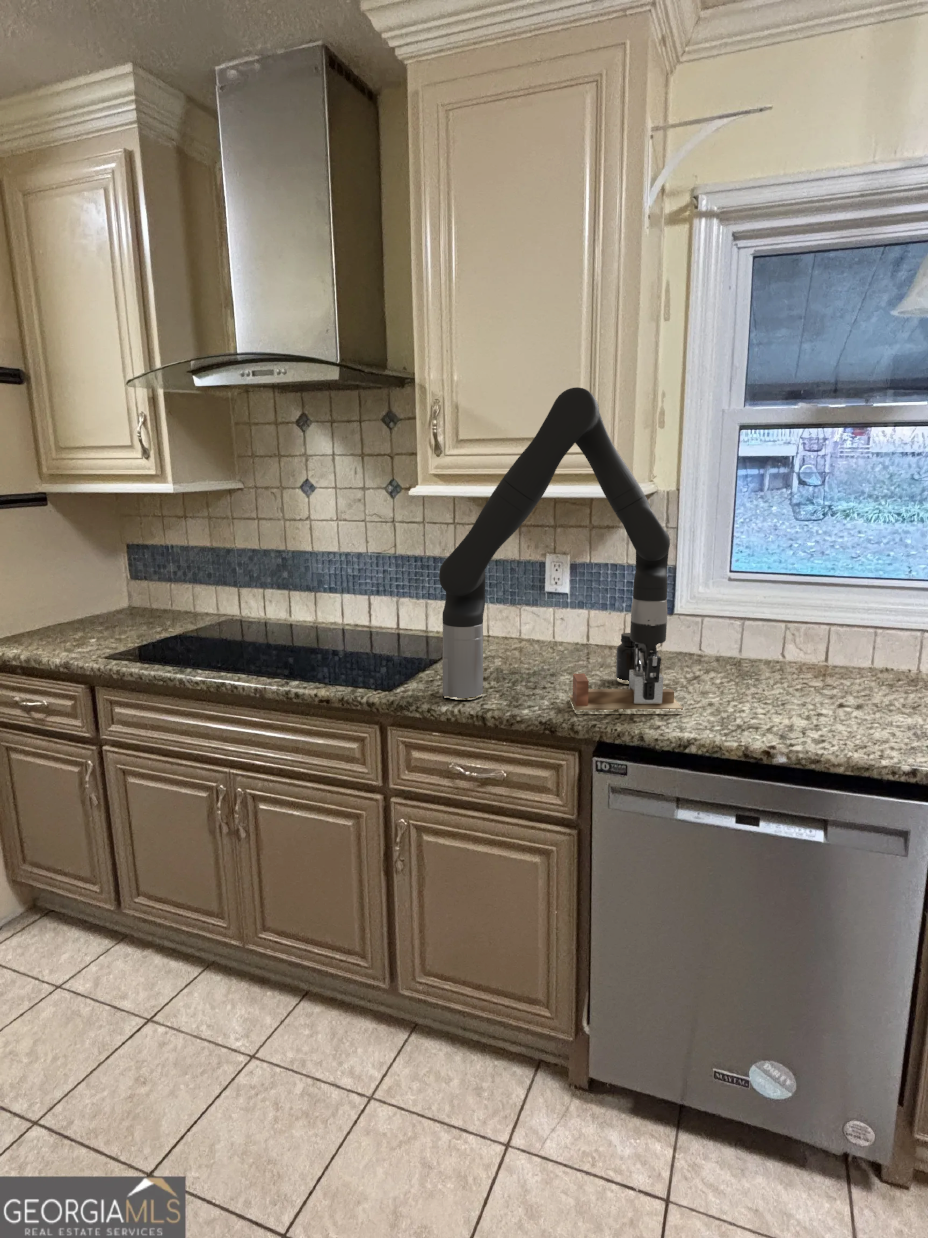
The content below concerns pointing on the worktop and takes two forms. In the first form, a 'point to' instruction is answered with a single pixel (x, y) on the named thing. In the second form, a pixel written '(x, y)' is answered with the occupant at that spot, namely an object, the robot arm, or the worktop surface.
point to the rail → (626, 706)
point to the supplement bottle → (625, 657)
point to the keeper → (638, 687)
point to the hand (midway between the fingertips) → (645, 694)
